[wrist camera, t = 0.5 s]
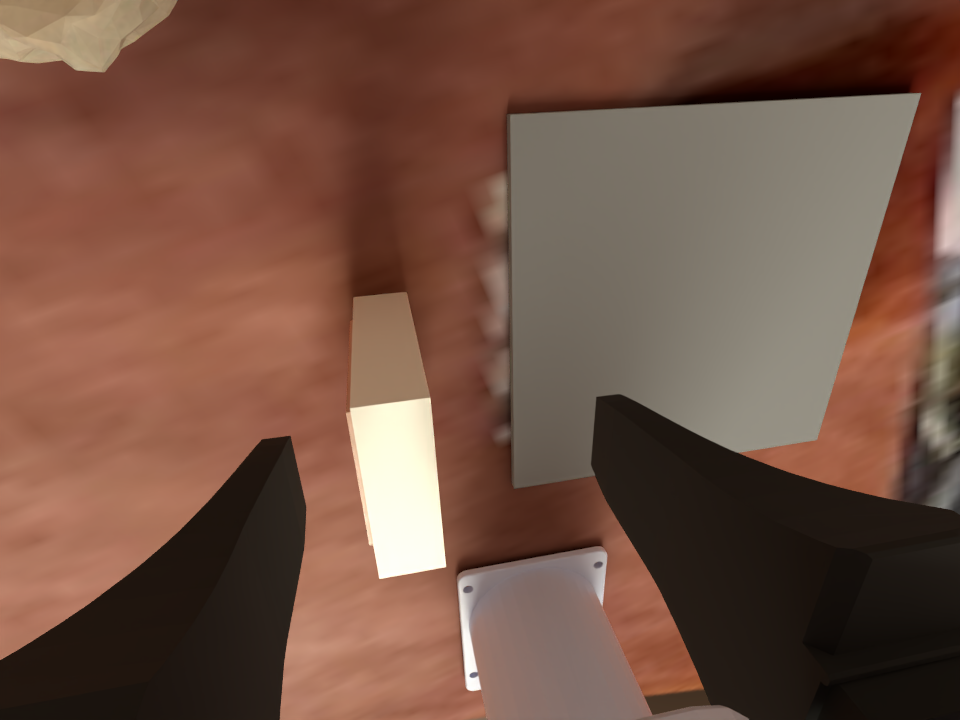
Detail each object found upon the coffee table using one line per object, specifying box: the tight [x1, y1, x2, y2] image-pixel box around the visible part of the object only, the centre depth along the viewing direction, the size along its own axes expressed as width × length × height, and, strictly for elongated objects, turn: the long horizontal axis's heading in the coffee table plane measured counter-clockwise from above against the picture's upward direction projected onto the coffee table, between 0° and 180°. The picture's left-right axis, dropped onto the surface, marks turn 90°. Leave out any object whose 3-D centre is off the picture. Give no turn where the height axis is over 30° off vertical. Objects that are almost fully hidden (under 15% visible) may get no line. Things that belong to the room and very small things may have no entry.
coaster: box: [346, 292, 446, 579], centre depth 18 cm, size 6×2×8 cm, turn 2°
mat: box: [507, 93, 921, 489], centre depth 23 cm, size 16×16×1 cm
